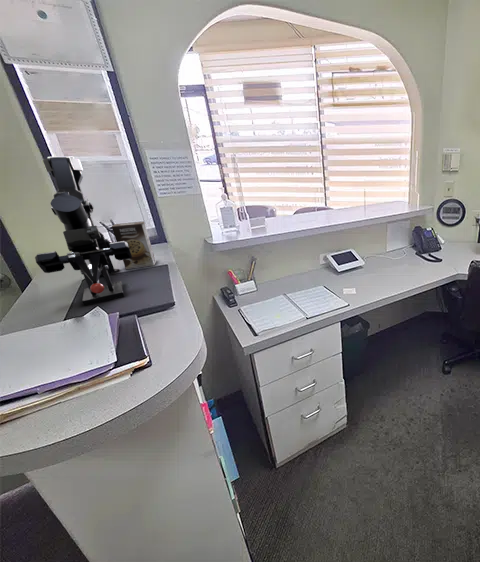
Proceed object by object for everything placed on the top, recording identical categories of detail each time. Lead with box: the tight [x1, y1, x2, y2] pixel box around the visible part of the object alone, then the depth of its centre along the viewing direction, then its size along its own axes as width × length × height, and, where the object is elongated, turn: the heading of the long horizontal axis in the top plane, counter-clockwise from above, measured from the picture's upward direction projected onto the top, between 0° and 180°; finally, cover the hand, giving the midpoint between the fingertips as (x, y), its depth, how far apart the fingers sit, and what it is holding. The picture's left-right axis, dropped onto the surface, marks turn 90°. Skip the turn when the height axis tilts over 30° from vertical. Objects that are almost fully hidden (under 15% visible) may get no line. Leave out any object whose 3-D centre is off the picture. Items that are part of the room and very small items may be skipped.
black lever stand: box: [79, 265, 125, 306], centre depth 91 cm, size 12×9×10 cm
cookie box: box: [111, 221, 157, 270], centre depth 116 cm, size 9×6×16 cm
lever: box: [87, 263, 104, 293], centre depth 86 cm, size 14×3×3 cm, turn 40°
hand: (95, 282), depth 82 cm, fingers closed, pressing on lever
